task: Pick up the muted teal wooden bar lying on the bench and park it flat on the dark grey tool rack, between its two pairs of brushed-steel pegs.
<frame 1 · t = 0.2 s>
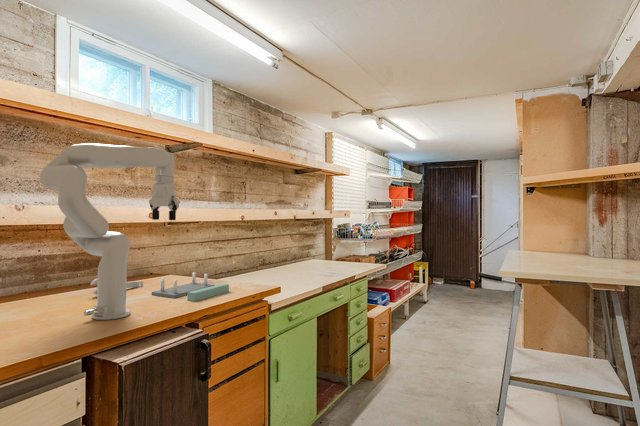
hand: (163, 219, 163), 36 cm above the worktop, tool pointing down, fingers open, 9 cm apart
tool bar: (209, 296, 177), on the worktop
wrench: (118, 292, 182), on the worktop
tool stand: (184, 291, 186), on the worktop
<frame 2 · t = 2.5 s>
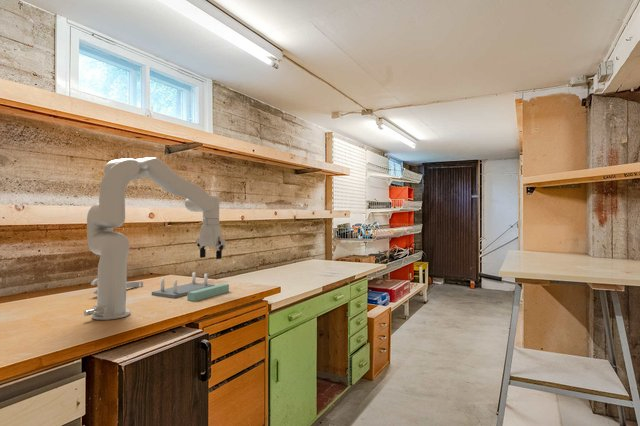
hand: (210, 258, 177), 18 cm above the worktop, tool pointing down, fingers open, 9 cm apart
nothing on the worktop moved.
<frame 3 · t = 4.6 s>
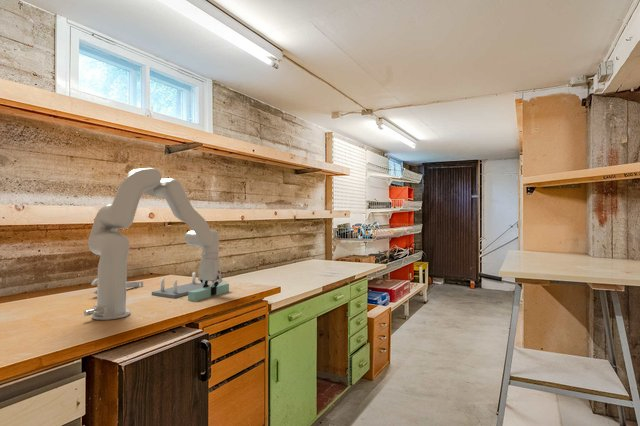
hand: (209, 294, 177), 1 cm above the worktop, tool pointing down, fingers closed on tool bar, 4 cm apart
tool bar: (209, 295, 177), on the worktop, touching gripper
everything else where it was.
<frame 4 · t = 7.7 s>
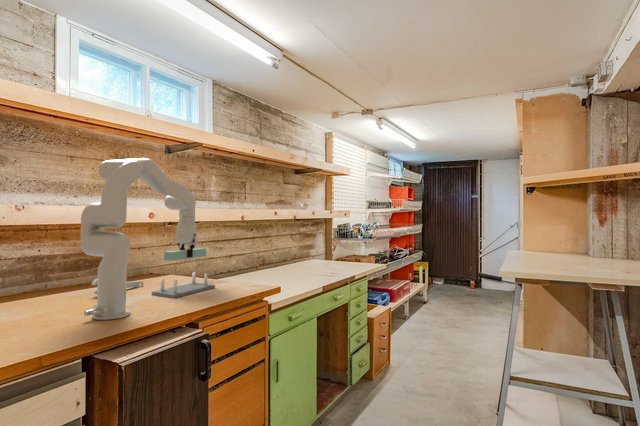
hand: (186, 256, 186), 17 cm above the worktop, tool pointing down, fingers closed on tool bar, 4 cm apart
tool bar: (186, 258, 186), point 17 cm above the worktop, touching gripper
everything else where it was.
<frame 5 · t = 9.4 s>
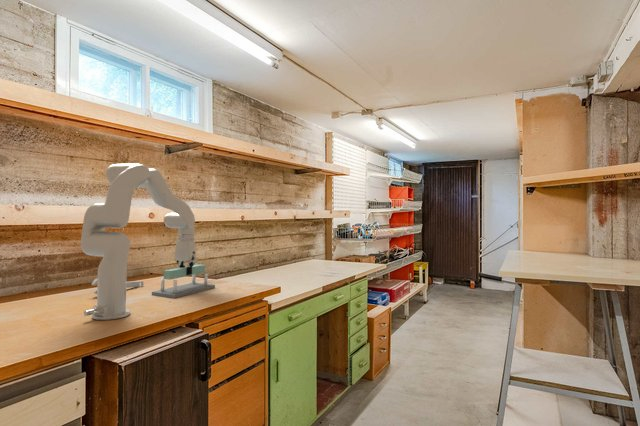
hand: (185, 273, 186), 9 cm above the worktop, tool pointing down, fingers closed on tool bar, 4 cm apart
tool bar: (185, 275, 186), point 8 cm above the worktop, touching gripper
everything else where it was.
when the fingers open (3 cm above the worktop, at t = 10.7 s): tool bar drops 1 cm, resting on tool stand.
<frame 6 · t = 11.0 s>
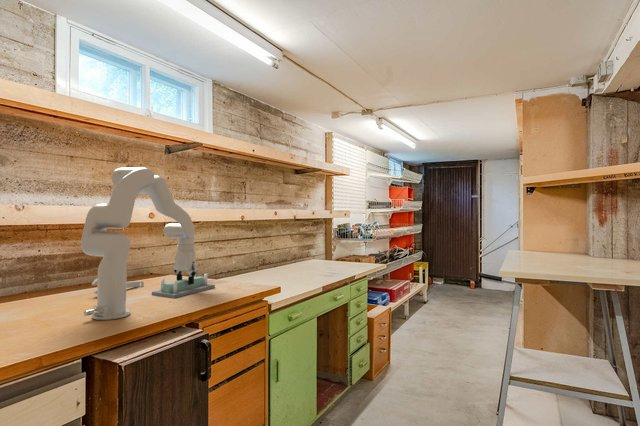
hand: (185, 283, 186), 4 cm above the worktop, tool pointing down, fingers open, 7 cm apart
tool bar: (184, 288, 186), point 1 cm above the worktop, touching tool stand
everything else where it was.
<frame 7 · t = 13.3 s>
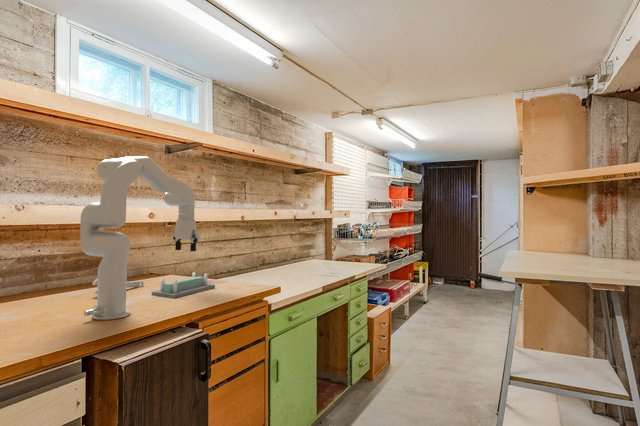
hand: (185, 250, 186), 20 cm above the worktop, tool pointing down, fingers open, 9 cm apart
nothing on the worktop moved.
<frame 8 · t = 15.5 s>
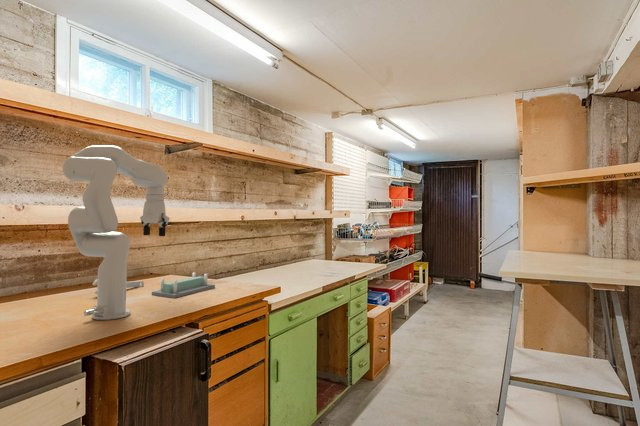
hand: (154, 235, 173), 28 cm above the worktop, tool pointing down, fingers open, 9 cm apart
nothing on the worktop moved.
at the end: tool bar 0.1 cm off-centre on the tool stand, point 1.5 cm above the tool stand's base; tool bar tilted 0°; the gripper is holding nothing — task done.
